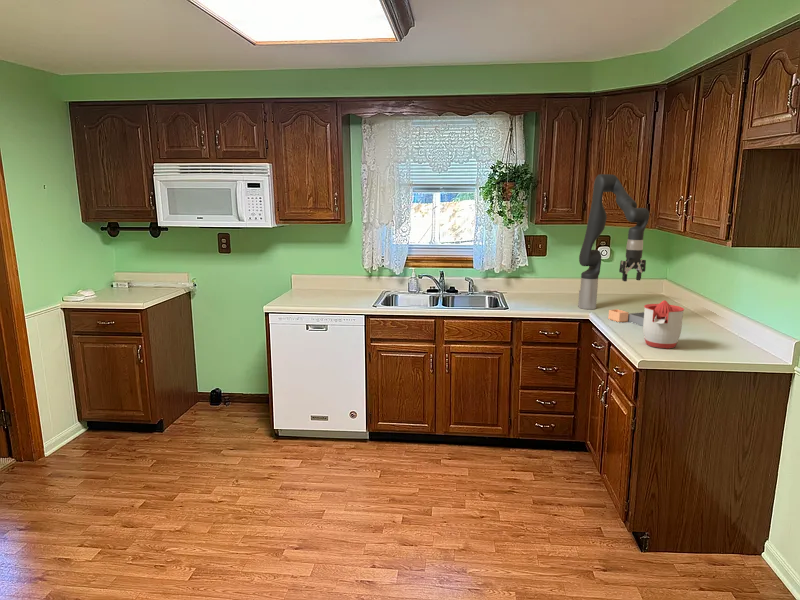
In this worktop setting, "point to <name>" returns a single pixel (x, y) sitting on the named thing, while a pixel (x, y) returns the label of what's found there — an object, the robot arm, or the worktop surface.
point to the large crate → (636, 318)
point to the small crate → (618, 315)
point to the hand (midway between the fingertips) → (631, 280)
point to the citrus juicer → (662, 324)
